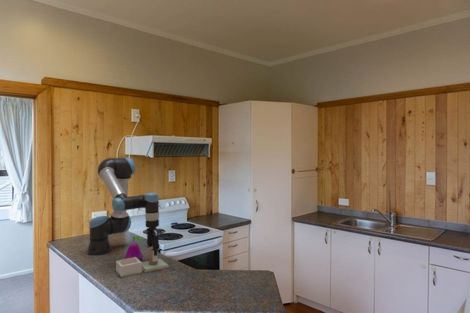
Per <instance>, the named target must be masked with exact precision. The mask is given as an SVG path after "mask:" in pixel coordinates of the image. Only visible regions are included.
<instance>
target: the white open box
mask: <svg viewBox="0 0 470 313" xmlns="http://www.w3.org/2000/svg"><path fill="white" fill-rule="evenodd" d="M141 262H142V261H141V260H138V259H137V258H136V257H133V258H128V259H124V258H123V259H118V260H115V269H116V270H115V271H116V273H117V274H118V276H119V277H120V278H125V277H129V276H130V277H131V276H133V275H140V274H142V272H143V271H142V264H141Z"/></svg>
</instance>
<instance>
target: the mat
mask: <svg viewBox="0 0 470 313" xmlns="http://www.w3.org/2000/svg"><path fill="white" fill-rule="evenodd" d="M169 268H170V266H169V265H168V267H164V268H160V269H155V270H151V271H145V270H144V269H142V272H143V273H144V274H148V273H152V272H157V271H161V270H165V269H169Z"/></svg>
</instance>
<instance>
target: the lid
mask: <svg viewBox="0 0 470 313" xmlns="http://www.w3.org/2000/svg"><path fill="white" fill-rule="evenodd" d="M141 264H142V269H144V270H145V271H151V270H155V269H160V268H164V267H168V266H169V264H168V263H166V261H165V260H163V259H162V258H158V261H154V262H153V256H152V249H150V250H149V249H148V260H147V261H146V260H145V261H141Z"/></svg>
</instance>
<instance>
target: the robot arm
mask: <svg viewBox="0 0 470 313" xmlns="http://www.w3.org/2000/svg"><path fill="white" fill-rule="evenodd" d="M135 166H136V165H135V162H134V159H132V158H131V157H113V158H112V157H109V158H105V159H103V160H102V161H101V162H100V163H99V164H98V166H97V175H98V178H100V179H101V180H102V181H103V183H104V184H105V186H106V188H107V190H108V192H109V194H110V196H111V197H112V201H111V206H112V209H113V210H112V211H113V212H111V213H110V217H109V216H107V215H101V216H96V217H93V218H92V219H90V221H89V243H88V247H87V249H86V253H87V255H89V256H101V255H104V254H105V255H106V254H108V253H110V252H112V246H111V243H110V240H109V235H116V234H122V233H124V232H125V233H126V232H128V231H129V230H130V228H131V226H132V221H131V220H132V218H131V216H130V215H129V213H128V210H136V209H144V211H145V213H144V217H145V227H146V245H147V247H148V250H150V249H152V256H153V262H154V261H158V259H159V258H158V250H159V249H160V244H159V240H160V238H159V234H160V232H159V231H158V230H157V227H159V226H160V212H159V203H160V202H159V200H160V199H159V194H158V192H147V193H145V194H138V195H135V196H134V195H133V196H132V195H131V196H128V193H129V192H128V191H129V181H130V179H131V178H132V175H134V174H135V173H136V167H135Z"/></svg>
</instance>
